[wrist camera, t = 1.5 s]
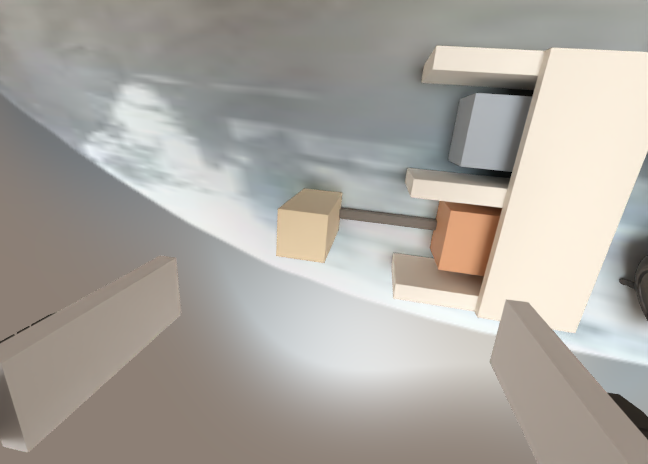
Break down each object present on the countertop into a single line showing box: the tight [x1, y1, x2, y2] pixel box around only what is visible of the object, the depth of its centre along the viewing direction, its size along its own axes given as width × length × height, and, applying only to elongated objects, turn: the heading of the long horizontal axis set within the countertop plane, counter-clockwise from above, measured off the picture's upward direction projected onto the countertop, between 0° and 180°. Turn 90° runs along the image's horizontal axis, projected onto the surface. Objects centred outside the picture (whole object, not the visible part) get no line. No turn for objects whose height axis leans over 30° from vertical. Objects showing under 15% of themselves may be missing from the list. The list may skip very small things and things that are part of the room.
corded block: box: [276, 188, 502, 276], centre depth 32 cm, size 6×21×10 cm, turn 85°
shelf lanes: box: [391, 46, 648, 333], centre depth 30 cm, size 22×16×9 cm
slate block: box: [448, 93, 532, 172], centre depth 30 cm, size 6×6×6 cm
